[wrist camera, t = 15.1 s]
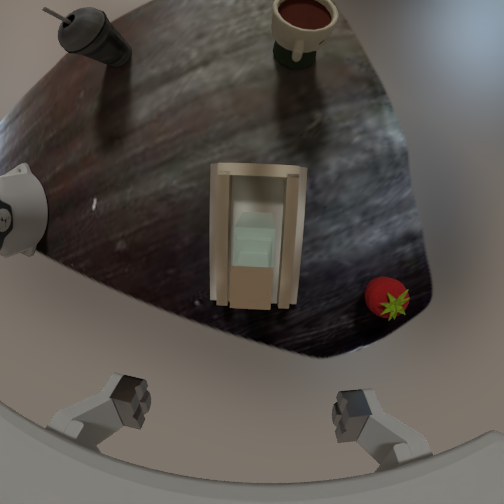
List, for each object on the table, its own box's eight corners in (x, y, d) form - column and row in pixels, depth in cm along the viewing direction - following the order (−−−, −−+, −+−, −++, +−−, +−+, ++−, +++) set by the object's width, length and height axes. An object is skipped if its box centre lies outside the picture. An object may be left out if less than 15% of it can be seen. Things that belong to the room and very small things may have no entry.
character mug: (313, 88, 33) (335, 53, 21) (264, 79, 33) (265, 39, 21) (321, 31, 30) (340, -13, 18) (275, 22, 30) (279, -26, 18)
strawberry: (364, 259, 40) (390, 284, 31) (399, 275, 41) (429, 301, 31) (347, 292, 42) (367, 323, 32) (382, 306, 42) (407, 336, 33)
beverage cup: (122, 79, 33) (44, 37, 14) (95, 68, 32) (18, 33, 13) (147, 43, 31) (84, -16, 12) (118, 34, 31) (53, -15, 11)
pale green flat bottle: (242, 211, 37) (225, 245, 20) (271, 213, 37) (280, 247, 20) (240, 260, 39) (224, 327, 22) (268, 262, 39) (273, 330, 22)
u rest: (212, 295, 43) (206, 310, 38) (212, 164, 37) (205, 162, 32) (295, 299, 42) (298, 315, 38) (305, 168, 37) (311, 167, 32)
